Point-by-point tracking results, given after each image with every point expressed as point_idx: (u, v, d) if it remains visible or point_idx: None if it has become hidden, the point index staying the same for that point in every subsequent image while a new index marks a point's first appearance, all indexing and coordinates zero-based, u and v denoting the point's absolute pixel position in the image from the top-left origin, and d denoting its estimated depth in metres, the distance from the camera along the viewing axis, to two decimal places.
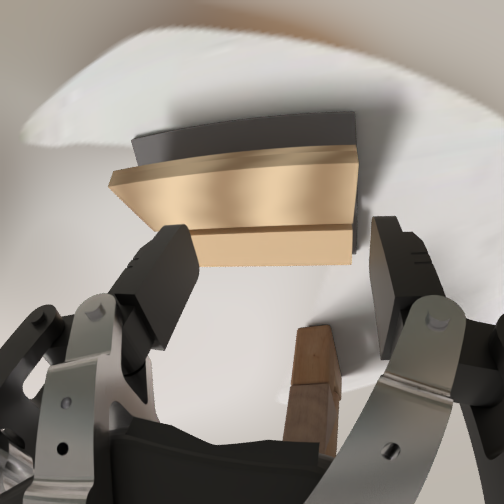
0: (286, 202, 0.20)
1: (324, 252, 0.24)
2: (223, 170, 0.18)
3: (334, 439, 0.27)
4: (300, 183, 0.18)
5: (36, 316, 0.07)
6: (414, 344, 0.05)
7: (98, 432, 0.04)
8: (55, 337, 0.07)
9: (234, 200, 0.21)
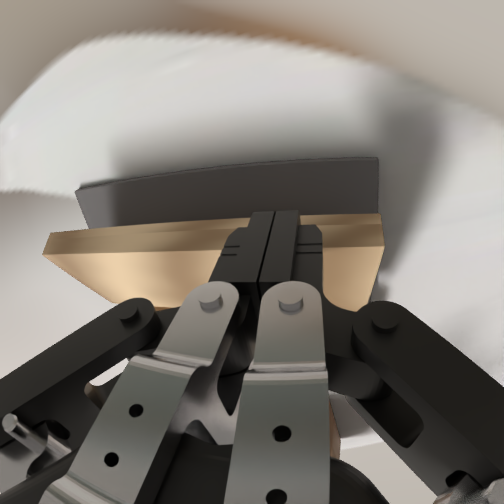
0: None
1: None
2: (176, 250, 0.12)
3: None
4: None
5: (126, 312, 0.06)
6: (274, 333, 0.06)
7: (160, 458, 0.03)
8: (153, 336, 0.06)
9: (200, 284, 0.15)
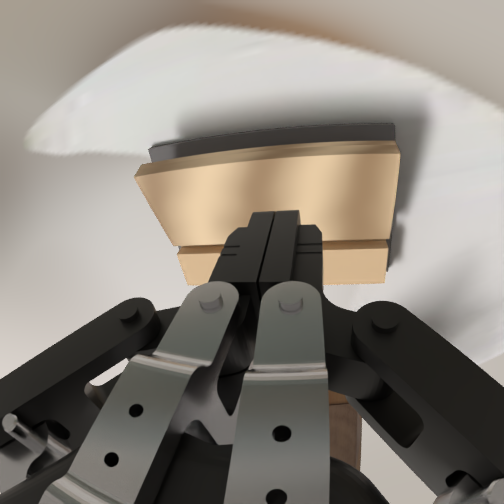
0: (323, 206, 0.19)
1: (357, 271, 0.22)
2: (262, 159, 0.17)
3: (358, 455, 0.25)
4: (341, 180, 0.17)
5: (126, 313, 0.06)
6: (274, 332, 0.06)
7: (160, 457, 0.03)
8: (153, 336, 0.06)
9: (268, 203, 0.19)
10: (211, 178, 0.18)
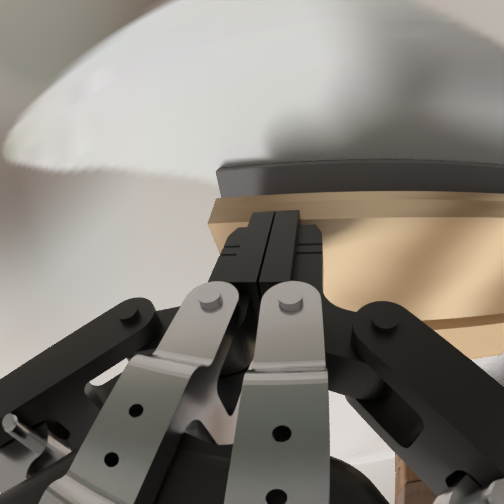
0: (488, 281, 0.11)
1: (483, 346, 0.14)
2: (453, 216, 0.09)
3: None
4: None
5: (126, 313, 0.06)
6: (274, 333, 0.06)
7: (159, 457, 0.03)
8: (153, 336, 0.06)
9: (427, 276, 0.11)
10: (360, 238, 0.10)
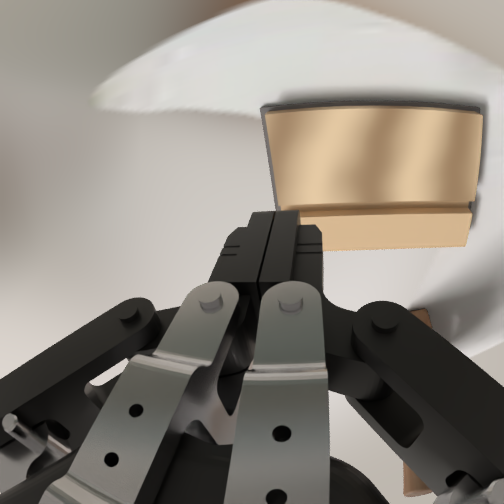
0: (429, 161, 0.19)
1: (447, 234, 0.22)
2: (388, 108, 0.18)
3: None
4: (444, 134, 0.18)
5: (126, 313, 0.06)
6: (274, 333, 0.06)
7: (159, 458, 0.03)
8: (153, 336, 0.06)
9: (386, 153, 0.20)
10: (342, 122, 0.19)
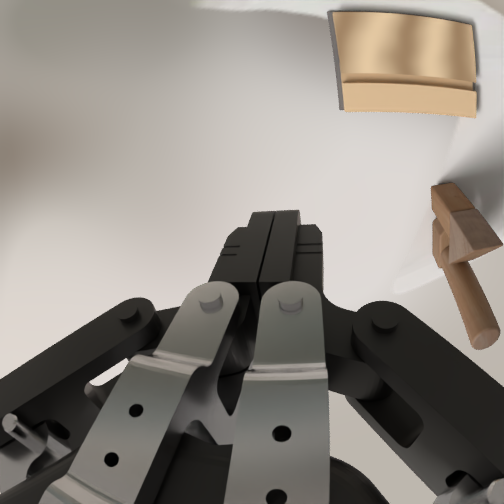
0: (441, 50, 0.23)
1: (461, 106, 0.26)
2: (411, 15, 0.22)
3: None
4: (448, 34, 0.22)
5: (126, 313, 0.06)
6: (273, 333, 0.06)
7: (160, 457, 0.03)
8: (153, 336, 0.06)
9: (412, 42, 0.23)
10: (383, 20, 0.23)
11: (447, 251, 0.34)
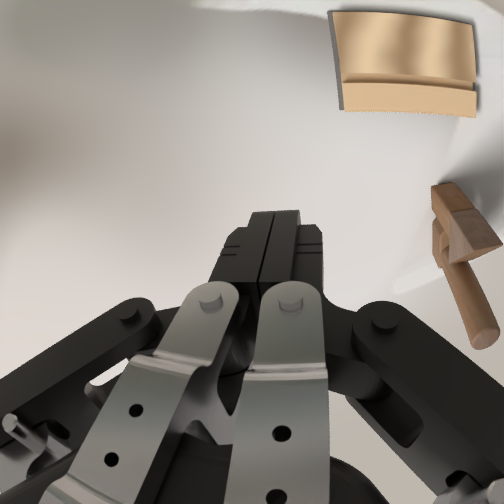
0: (441, 50, 0.23)
1: (461, 106, 0.26)
2: (411, 15, 0.22)
3: None
4: (448, 34, 0.22)
5: (126, 313, 0.06)
6: (273, 333, 0.06)
7: (160, 458, 0.03)
8: (153, 336, 0.06)
9: (412, 42, 0.23)
10: (383, 20, 0.23)
11: (447, 251, 0.34)
